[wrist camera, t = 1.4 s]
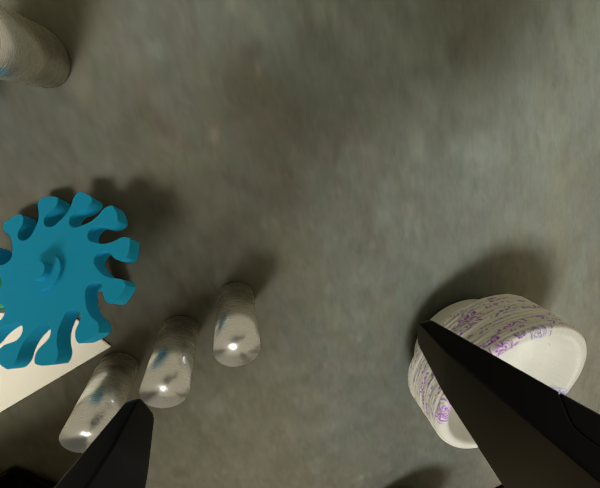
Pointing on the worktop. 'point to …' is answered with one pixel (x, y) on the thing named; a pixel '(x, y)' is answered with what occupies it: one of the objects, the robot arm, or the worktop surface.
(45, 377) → the pad
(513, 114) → the worktop surface
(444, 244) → the worktop surface
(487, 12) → the worktop surface
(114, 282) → the gear
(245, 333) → the posts
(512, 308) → the paper bowls
